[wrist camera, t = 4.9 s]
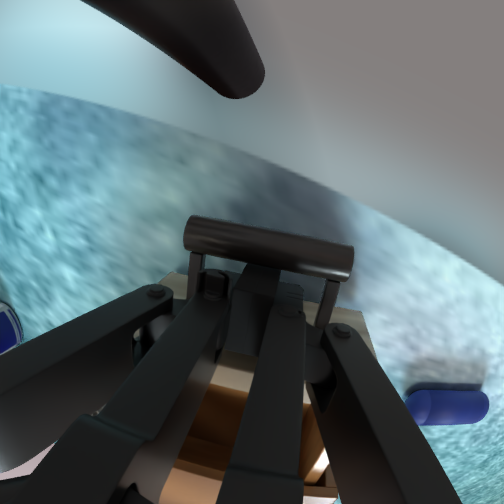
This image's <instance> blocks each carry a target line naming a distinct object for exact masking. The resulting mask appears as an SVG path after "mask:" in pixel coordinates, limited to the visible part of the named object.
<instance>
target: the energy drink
mask: <svg viewBox="0 0 504 504" xmlns="http://www.w3.org/2000/svg"><path fill="white" fill-rule="evenodd" d="M21 340H22V329H21V326H20V323H19V321H18V319H17V317H16V315H15V313H14V312H13V311H12V309H11V308H10V307H9V306H8V305H6V304H4V303H0V355H1V354H3V353H5V352H7V351H9V350H11V349H12V348H14V347H15V346H17V345H18V344H19V343H20V342H21Z"/></svg>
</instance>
